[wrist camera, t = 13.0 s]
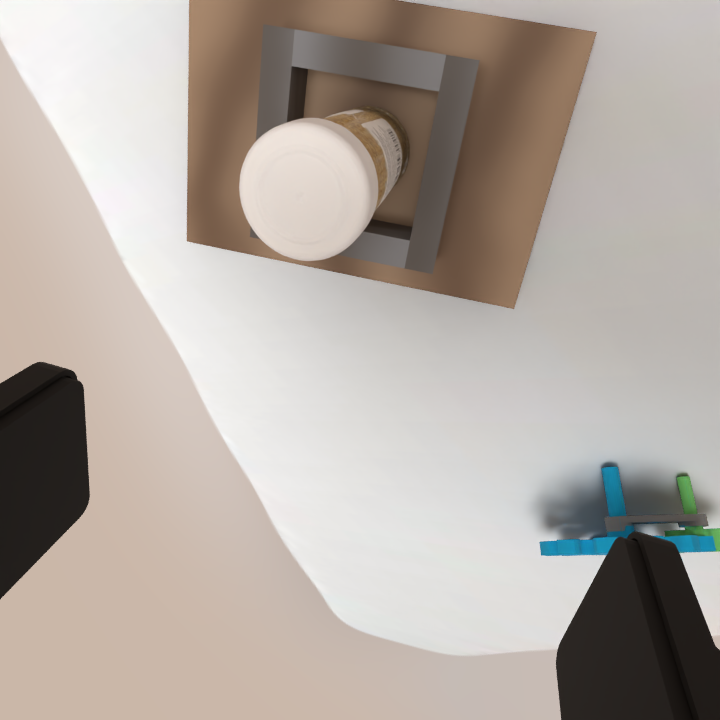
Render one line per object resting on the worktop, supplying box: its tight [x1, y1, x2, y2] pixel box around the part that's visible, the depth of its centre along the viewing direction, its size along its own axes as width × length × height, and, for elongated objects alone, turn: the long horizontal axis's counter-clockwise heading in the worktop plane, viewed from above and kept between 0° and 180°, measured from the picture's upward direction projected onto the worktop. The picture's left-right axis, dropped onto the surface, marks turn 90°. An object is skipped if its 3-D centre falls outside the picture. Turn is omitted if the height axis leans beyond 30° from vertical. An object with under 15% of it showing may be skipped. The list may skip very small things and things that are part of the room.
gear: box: [540, 467, 720, 556], centre depth 36 cm, size 11×6×10 cm
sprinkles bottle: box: [239, 106, 410, 261], centre depth 24 cm, size 5×5×13 cm
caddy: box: [187, 0, 597, 309], centre depth 30 cm, size 20×14×4 cm
